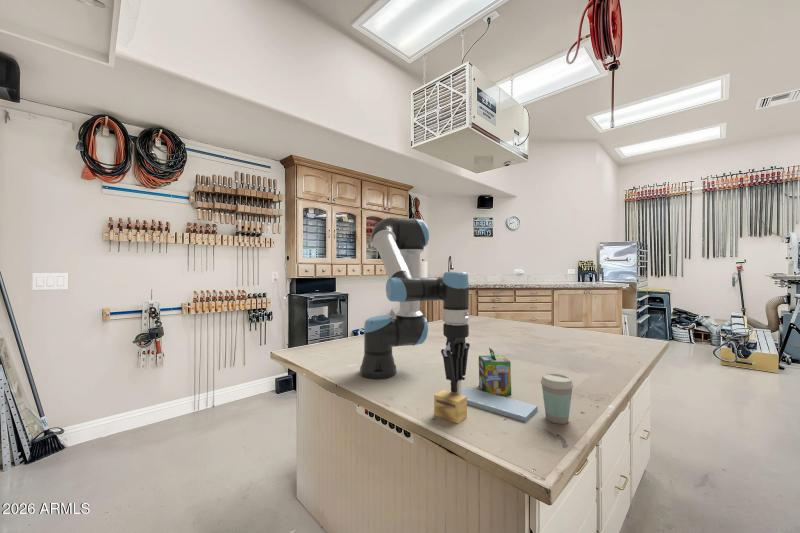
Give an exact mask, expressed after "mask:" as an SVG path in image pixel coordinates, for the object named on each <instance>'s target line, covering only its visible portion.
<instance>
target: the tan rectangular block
mask: <svg viewBox="0 0 800 533" xmlns="http://www.w3.org/2000/svg"><path fill="white" fill-rule="evenodd" d="M433 396H434V397H433V398H434V399H433V401H434V402H433V404H434V405H433V407H434V408H433V412H434V413H433V415H434V416H436V417H437V418H438V417H439V418H442V419H444V420H447V421H449V422H452V423H456V424H460V423H461V422H462V421H463V420H466V418H468V414H467V413H468V404H467V396H463V395H460V394H456V393H453V392H451V391H448V390H447V389H443V390H440V391H438V392H437V393H434V395H433Z"/></svg>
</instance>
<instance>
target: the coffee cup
mask: <svg viewBox="0 0 800 533" xmlns="http://www.w3.org/2000/svg"><path fill="white" fill-rule="evenodd" d="M540 384H541V389H542V398H543V404H544V412H545V419H546V420H547V421H549V422H550V423H554V424H558V425H559V424H560V425H565V424H568V422H569V418H570V411H571V402H572V394H573V388H574V383H573V380H572V378H571V377H570V376H567V375H565V374H560V373H555V372H554V373H553V372H550V373H548V372H547V373H544V374H542V377H541V379H540Z"/></svg>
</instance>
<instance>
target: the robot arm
mask: <svg viewBox="0 0 800 533" xmlns="http://www.w3.org/2000/svg"><path fill="white" fill-rule="evenodd" d="M370 238H371V239H370V240H371V244H372V246H373V247H374V249H375V250H377V251H378V254H379V257H380V259H381V261H382V265H383V266H384V269H385V273H386V275H387V277H388V279H387V280H386V283H385V293H386V297H387V300H388V301H390V302H398V303H399V310H398V311H397V312H396V313H395V318H393V316H392V315H389V314H384V315H383V314H382V315H376V316H375V315H374V316H371V317H369V318H367V319H365V321H364V327H363V328H364V329H363V336H364V337H363V338H364V340H363V344H364V345H363V346H364V347H363V348H364V350H363V351H364V352H363V353H364V354H363V358H362V362H361V365H360V368H359V374H360V375H361V377H363V378H367V379H372V380H373V379H374V380H375V379H376V380H377V379H378V380H379V379H388V378H391V377H393V376H395V375H396V374H397V365H396V364H395V359H394V355H393V347H405V346H407V347H409V346H417V345H422V344H424V343H425V342H426V339H427V337H428V333H429V324H428V319H427V318H426V317H424V313H423V312H422V311H421V308H420V306H421V305H420V304H421V302H428V301H431V302H432V301H440V302H441V301H443V304H442V305H443V307H442V310H443V311H442V313H443V314H442V321H443V322H444V323H443V324H442V325H443V326H442V328H443V329H442V330H443V336H444V337H445V338H446V342H445V348H442V349H440V353H441V356H442V359H443V366H444V373H445V374H444V375H445V379H446V380H448V381H450V392H453V393H456V394H460V395H461V390H462V381H465V379H466V377H465V376H466V374H467V373H466V372H467V365H468V355H469V349H470V347H471V344H470V343H469V342H466V338H468V337H469V334H470V332H469V331H470V330H469V329H470V328H469V327H470V325H469V324H468V323H469V316H470V313H469V306H470V304H469V302H470V301H469V299H470V298H469V294H470V293H469V291H470V284H469V274H468V272H466V271H445V272H444V273H443V276H435V277H421V254H422V253H423V252H424V249H425V247H426V246H427V245H428V244H429V241H430V233H429V228H428V225H427V224H426V222H425V221H424V220H423V219H419V218H404V217H387V218H384V219H382V220H379V221H378V222H377V223H376V224H375V225H374V226H373V229H372V232H371V235H370ZM420 301H421V302H420Z"/></svg>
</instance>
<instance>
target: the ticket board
mask: <svg viewBox="0 0 800 533" xmlns="http://www.w3.org/2000/svg"><path fill="white" fill-rule="evenodd" d="M461 395H463V396H467V406H468V405H469V406H471V407H475V408H477V409H482V410H486V411H488V412H491V413H495V414H497V415H501V416H505V417H508V418H510V419H514V420H517V421H521V422H524V423H527V422H528V421H529V420H530V419H531V417H532V416H534V415H535V414H536V412H538V410H539V408H538V407H539V406H538V405H536V404H533V403H528V402H524V401H521V400H517V399H514V398H513V399H512V398H510V397H505V396H501V395H495V394H491V393H487V392H484V391H482V390H481V389H476V388H471V387H469V386H468V387H464V388H463V389H461Z"/></svg>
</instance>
